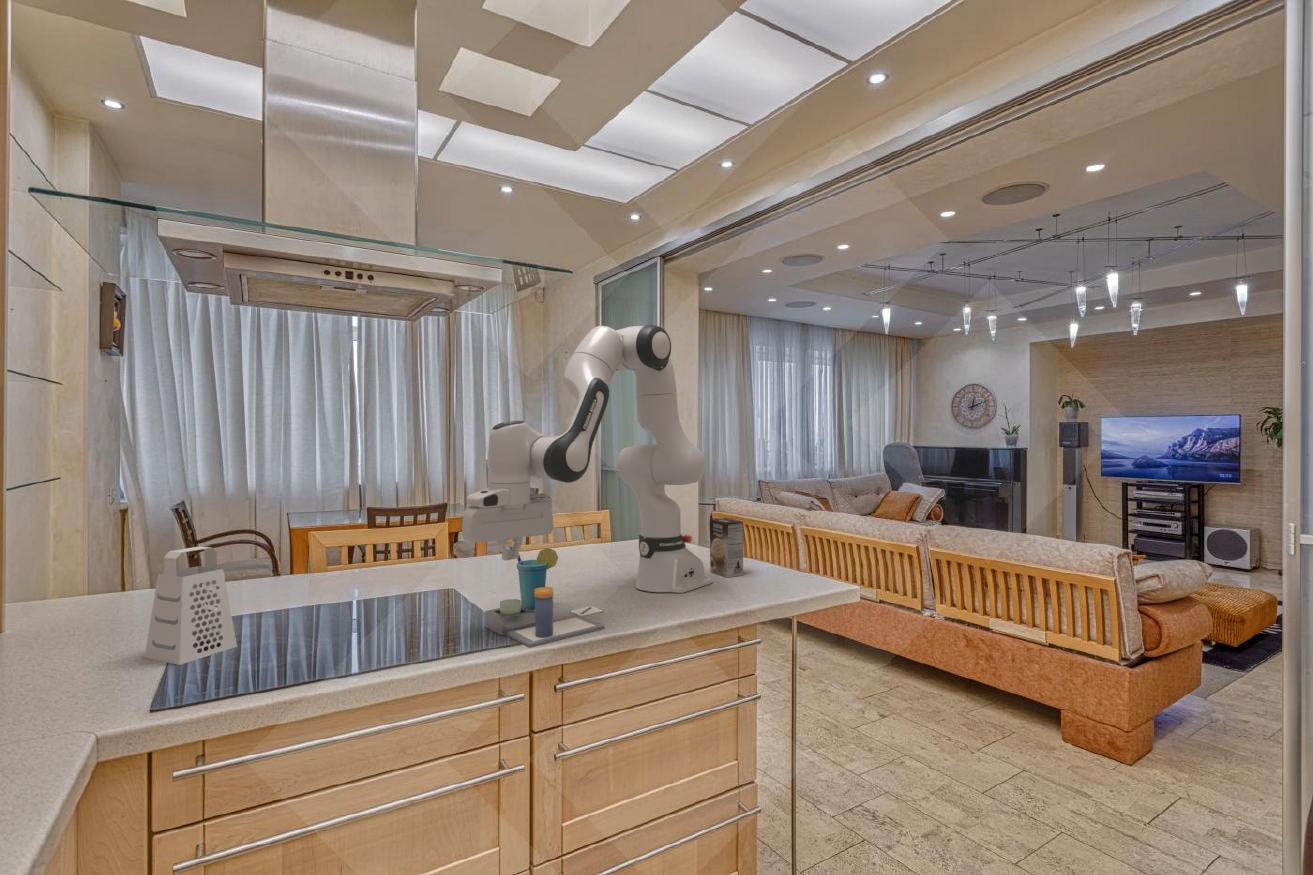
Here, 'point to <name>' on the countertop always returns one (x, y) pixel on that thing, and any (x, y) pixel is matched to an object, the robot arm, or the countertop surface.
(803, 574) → the countertop surface
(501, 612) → the button
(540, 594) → the orange capped blue bottle
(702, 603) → the countertop surface
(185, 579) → the grater
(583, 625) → the board
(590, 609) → the card
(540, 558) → the cup
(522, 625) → the button housing
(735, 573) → the coffee box
